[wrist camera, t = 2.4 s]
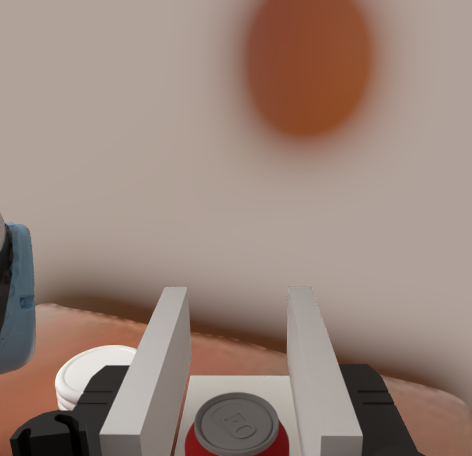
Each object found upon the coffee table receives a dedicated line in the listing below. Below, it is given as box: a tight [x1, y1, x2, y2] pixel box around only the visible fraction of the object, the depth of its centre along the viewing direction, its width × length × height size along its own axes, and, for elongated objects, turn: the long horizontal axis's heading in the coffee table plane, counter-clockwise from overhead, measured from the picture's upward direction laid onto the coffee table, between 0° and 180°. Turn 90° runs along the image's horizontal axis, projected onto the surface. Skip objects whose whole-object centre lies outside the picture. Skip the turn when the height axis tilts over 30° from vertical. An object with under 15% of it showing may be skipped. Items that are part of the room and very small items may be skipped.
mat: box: [174, 376, 302, 456], centre depth 42 cm, size 16×12×1 cm
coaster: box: [55, 345, 137, 411], centre depth 48 cm, size 10×10×4 cm
